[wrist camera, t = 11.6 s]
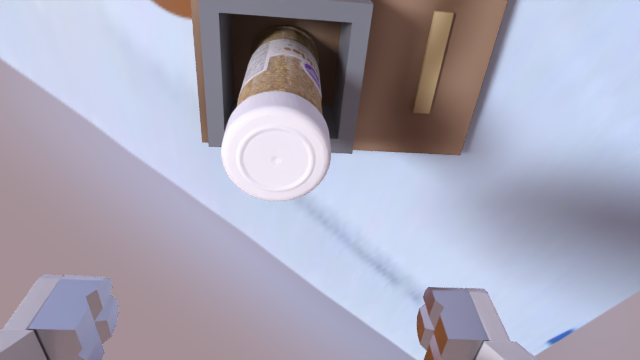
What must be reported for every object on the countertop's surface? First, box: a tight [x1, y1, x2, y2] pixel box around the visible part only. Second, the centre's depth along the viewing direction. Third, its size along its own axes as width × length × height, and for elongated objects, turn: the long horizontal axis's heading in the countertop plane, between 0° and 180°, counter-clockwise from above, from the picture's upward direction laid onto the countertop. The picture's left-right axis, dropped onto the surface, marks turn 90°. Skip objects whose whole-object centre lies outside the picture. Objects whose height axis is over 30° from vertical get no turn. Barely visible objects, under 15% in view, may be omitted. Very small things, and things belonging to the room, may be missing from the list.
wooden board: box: [191, 0, 508, 155], centre depth 29 cm, size 20×14×2 cm
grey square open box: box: [198, 0, 373, 154], centre depth 26 cm, size 9×9×5 cm
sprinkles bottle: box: [221, 25, 331, 201], centre depth 23 cm, size 5×5×13 cm
